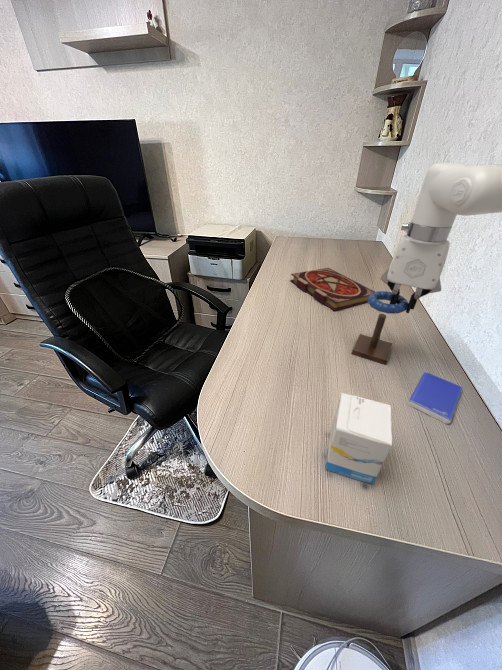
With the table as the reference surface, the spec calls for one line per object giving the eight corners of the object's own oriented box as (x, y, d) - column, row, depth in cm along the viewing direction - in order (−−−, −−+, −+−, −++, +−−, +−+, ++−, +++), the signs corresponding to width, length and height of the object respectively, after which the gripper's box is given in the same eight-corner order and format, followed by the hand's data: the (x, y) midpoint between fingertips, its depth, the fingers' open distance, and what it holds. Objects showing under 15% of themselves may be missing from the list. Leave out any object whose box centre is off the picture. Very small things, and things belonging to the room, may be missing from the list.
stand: (391, 347, 79) (403, 312, 73) (385, 365, 73) (399, 328, 66) (359, 337, 83) (368, 304, 77) (351, 354, 77) (360, 318, 70)
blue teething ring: (408, 302, 71) (411, 295, 70) (403, 319, 65) (406, 310, 63) (371, 294, 75) (373, 287, 74) (363, 309, 69) (365, 301, 67)
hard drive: (451, 419, 57) (463, 387, 64) (409, 399, 61) (424, 371, 69) (448, 424, 58) (460, 391, 65) (407, 404, 62) (422, 375, 70)
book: (377, 301, 103) (380, 288, 101) (332, 312, 96) (335, 299, 93) (328, 274, 124) (330, 263, 122) (288, 281, 116) (289, 270, 114)
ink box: (374, 486, 47) (394, 445, 41) (323, 469, 50) (335, 428, 43) (374, 444, 54) (391, 403, 47) (330, 431, 56) (340, 390, 50)
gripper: (383, 231, 59) (363, 307, 69) (475, 243, 52) (437, 325, 62) (389, 223, 64) (369, 295, 75) (473, 233, 57) (438, 311, 68)
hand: (400, 308), depth 68 cm, fingers closed on blue teething ring, 2 cm apart
